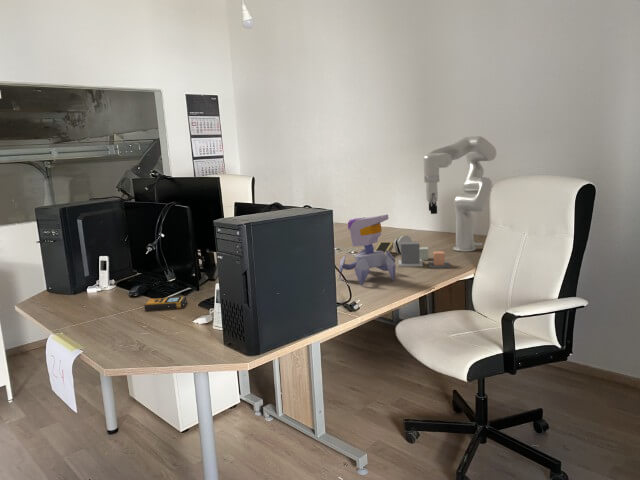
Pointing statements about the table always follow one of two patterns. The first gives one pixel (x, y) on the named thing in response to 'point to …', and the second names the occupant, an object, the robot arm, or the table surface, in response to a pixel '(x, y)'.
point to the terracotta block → (439, 257)
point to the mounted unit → (410, 255)
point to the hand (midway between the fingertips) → (433, 212)
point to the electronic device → (165, 303)
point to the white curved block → (398, 242)
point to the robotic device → (368, 248)
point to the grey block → (423, 253)
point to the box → (384, 247)
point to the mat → (431, 265)
